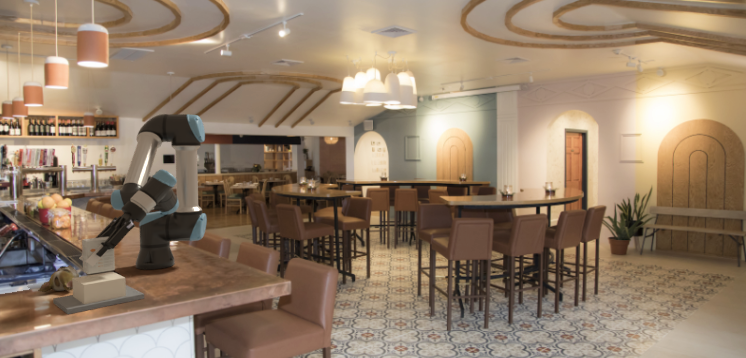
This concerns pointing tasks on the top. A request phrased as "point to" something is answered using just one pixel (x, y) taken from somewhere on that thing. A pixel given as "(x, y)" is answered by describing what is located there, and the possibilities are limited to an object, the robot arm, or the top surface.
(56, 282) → the ceramic sculpture
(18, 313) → the top surface
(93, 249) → the small box
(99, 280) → the pedestal
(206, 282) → the top surface
